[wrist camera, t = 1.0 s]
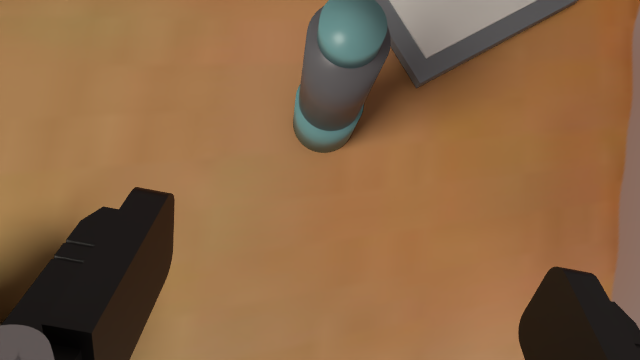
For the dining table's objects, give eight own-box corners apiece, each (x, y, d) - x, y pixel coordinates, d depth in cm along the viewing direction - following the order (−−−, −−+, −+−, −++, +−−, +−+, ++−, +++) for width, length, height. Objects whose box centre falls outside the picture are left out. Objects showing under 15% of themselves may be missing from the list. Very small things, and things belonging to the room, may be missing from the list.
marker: (282, 111, 39) (286, 3, 23) (333, 85, 39) (370, -37, 24) (312, 163, 38) (336, 86, 23) (363, 135, 39) (420, 42, 24)
